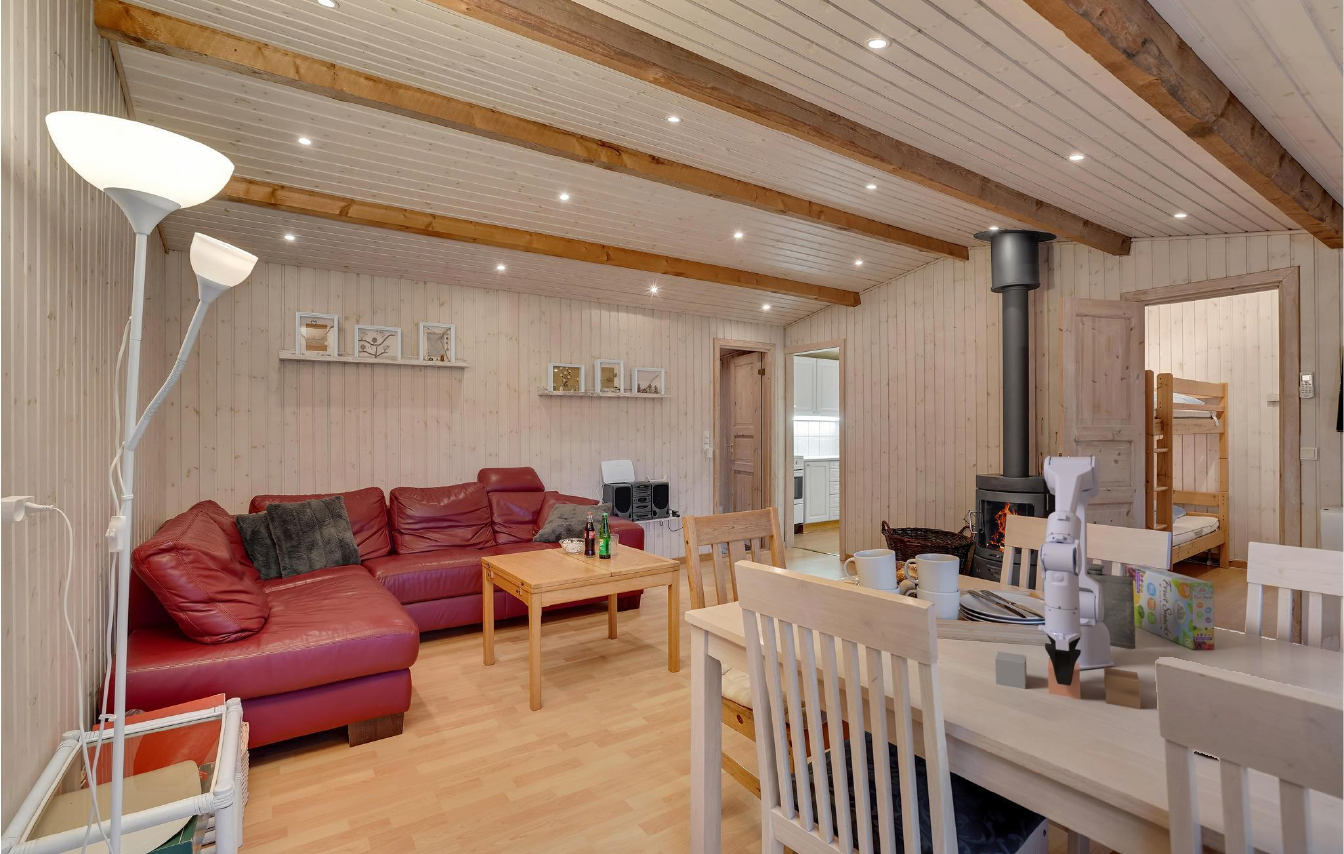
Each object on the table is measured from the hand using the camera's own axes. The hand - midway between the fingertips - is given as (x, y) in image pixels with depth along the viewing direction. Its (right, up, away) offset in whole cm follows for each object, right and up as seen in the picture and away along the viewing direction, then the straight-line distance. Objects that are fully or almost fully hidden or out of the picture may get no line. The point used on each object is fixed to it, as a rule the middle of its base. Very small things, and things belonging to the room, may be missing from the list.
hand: (1064, 677), depth 118 cm
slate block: (-7, -3, +5) cm, 9 cm away
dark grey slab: (+25, -3, +27) cm, 38 cm away
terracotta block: (0, -3, 0) cm, 3 cm away
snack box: (+44, -2, +30) cm, 54 cm away
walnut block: (+8, -3, -5) cm, 9 cm away
